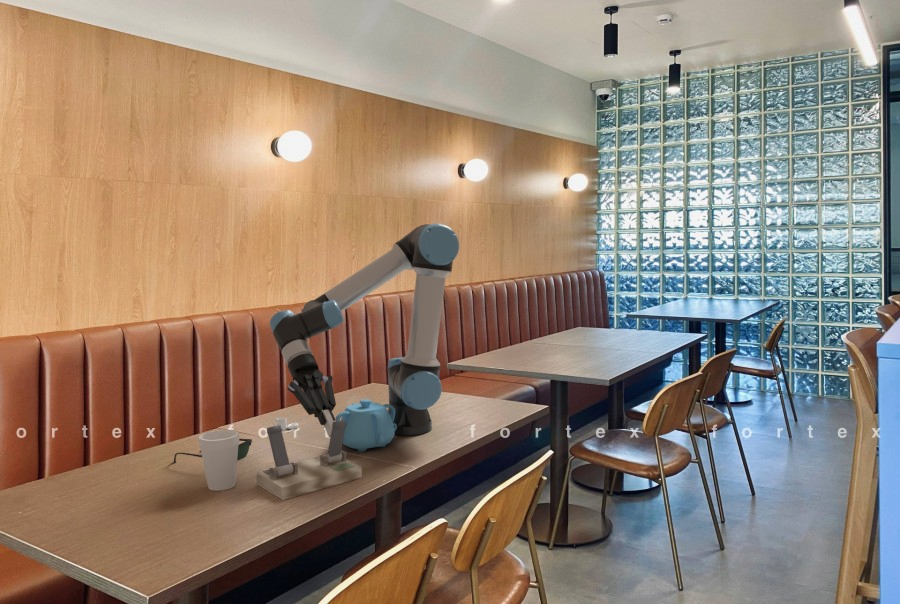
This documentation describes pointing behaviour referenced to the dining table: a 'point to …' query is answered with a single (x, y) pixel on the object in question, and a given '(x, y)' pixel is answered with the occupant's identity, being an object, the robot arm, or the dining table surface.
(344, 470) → the switch base
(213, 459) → the foam cup
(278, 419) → the teacup and saucer
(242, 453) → the sunglasses
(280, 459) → the lever
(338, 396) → the dining table surface
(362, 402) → the decorative pot
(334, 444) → the lever
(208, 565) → the dining table surface
